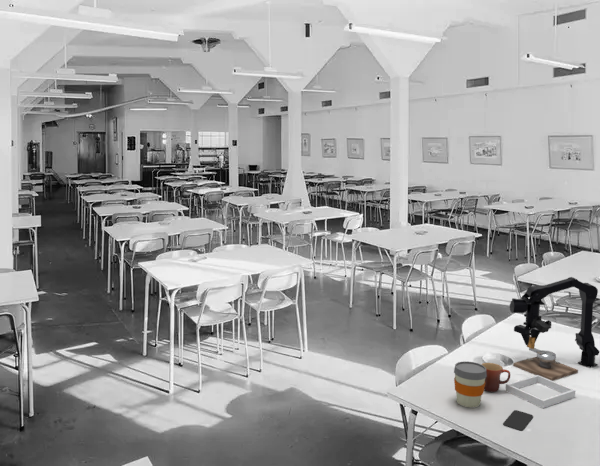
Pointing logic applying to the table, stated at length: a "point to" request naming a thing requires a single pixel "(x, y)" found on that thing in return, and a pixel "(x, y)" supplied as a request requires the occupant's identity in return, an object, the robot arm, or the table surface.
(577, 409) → the table surface
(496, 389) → the mug
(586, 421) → the table surface
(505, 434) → the table surface
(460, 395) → the reusable coffee cup
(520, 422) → the phone
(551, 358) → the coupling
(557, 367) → the base plate
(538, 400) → the tray frame
